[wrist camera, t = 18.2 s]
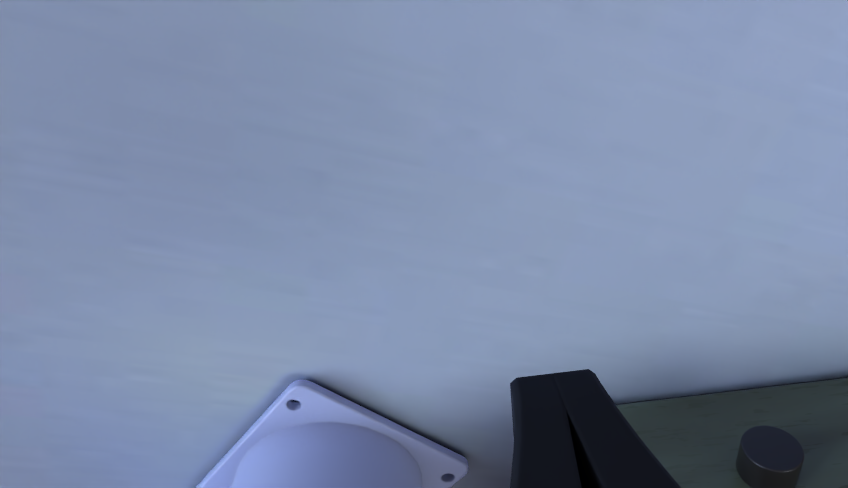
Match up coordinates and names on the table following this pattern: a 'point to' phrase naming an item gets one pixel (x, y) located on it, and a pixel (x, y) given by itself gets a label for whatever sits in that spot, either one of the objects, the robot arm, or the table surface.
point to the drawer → (750, 436)
